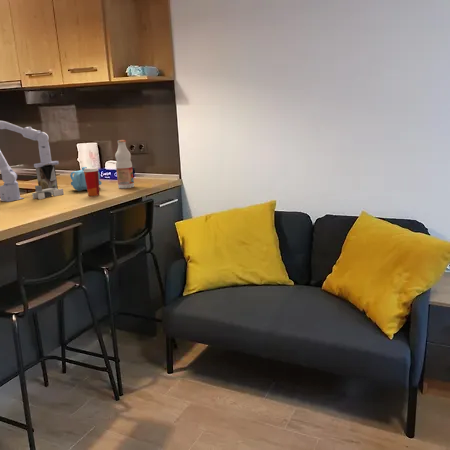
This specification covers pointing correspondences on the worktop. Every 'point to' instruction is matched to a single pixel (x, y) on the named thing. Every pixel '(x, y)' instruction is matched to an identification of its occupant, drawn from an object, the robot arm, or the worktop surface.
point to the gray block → (47, 194)
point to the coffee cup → (92, 181)
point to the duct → (53, 192)
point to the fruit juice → (124, 166)
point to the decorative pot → (80, 180)
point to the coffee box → (46, 182)
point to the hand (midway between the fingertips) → (48, 178)
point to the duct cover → (39, 189)
